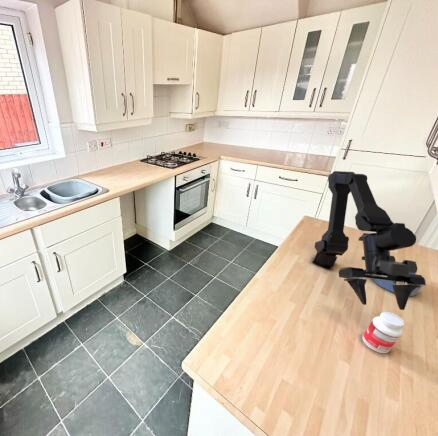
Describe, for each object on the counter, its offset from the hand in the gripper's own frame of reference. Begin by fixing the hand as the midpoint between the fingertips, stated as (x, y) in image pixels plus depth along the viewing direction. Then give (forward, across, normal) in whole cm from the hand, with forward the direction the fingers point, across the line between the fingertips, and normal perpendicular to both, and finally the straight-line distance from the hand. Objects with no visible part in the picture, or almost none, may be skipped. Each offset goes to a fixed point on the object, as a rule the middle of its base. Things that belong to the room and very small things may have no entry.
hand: (382, 307), depth 69 cm
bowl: (-10, +21, +25) cm, 34 cm away
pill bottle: (+11, 0, +5) cm, 12 cm away
